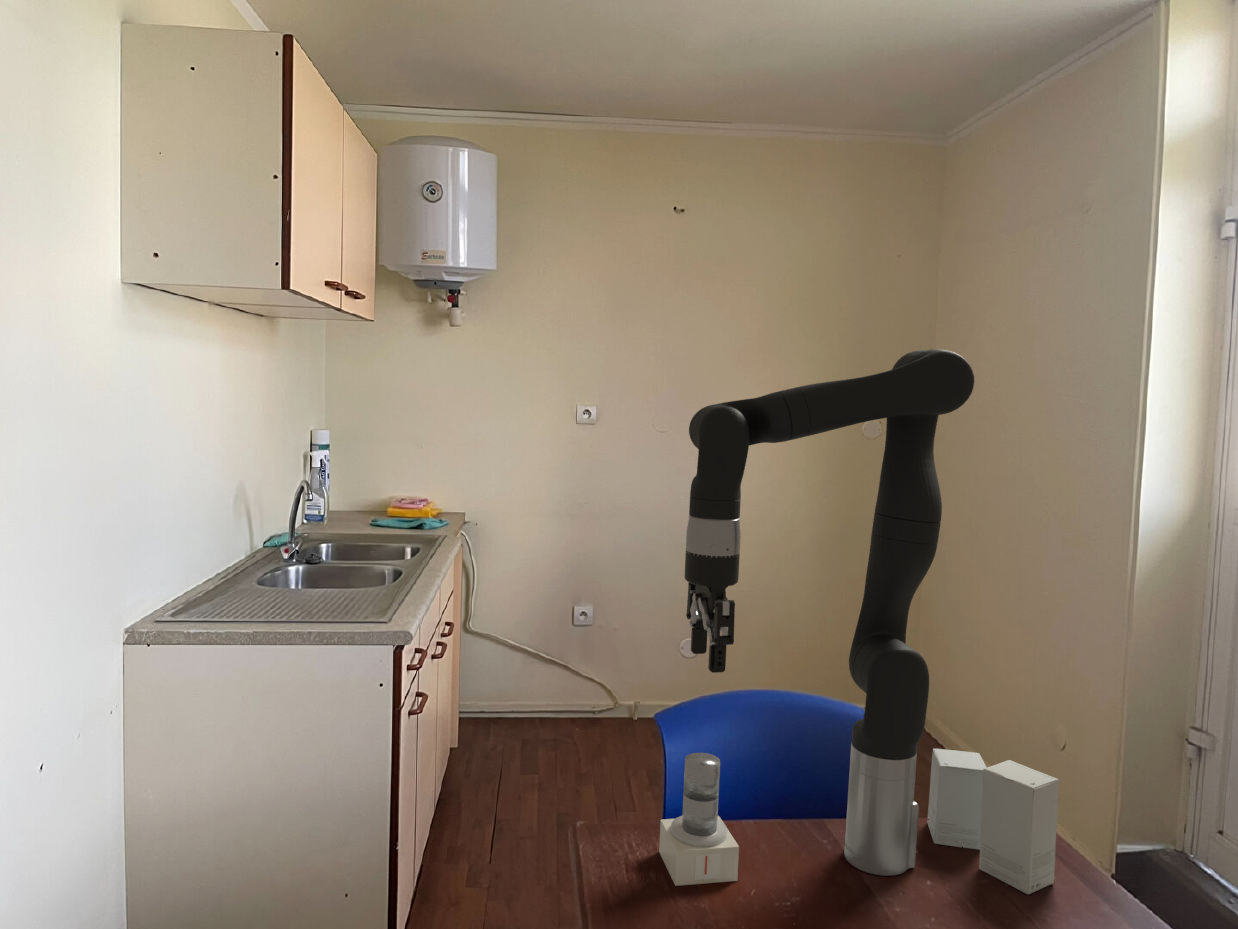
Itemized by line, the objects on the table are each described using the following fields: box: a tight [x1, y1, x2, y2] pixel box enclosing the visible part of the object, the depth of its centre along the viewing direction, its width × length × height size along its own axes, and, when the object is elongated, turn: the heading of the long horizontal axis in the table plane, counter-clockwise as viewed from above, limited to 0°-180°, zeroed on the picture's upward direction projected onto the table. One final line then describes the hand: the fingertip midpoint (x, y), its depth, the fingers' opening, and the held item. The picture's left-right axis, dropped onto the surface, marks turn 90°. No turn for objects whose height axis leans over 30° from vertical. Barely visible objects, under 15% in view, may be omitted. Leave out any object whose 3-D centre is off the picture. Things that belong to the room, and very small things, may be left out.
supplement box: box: [926, 748, 987, 851], centre depth 140 cm, size 7×7×13 cm
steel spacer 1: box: [683, 752, 721, 802], centre depth 127 cm, size 5×5×5 cm
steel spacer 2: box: [681, 793, 719, 836], centre depth 128 cm, size 5×5×5 cm
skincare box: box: [978, 759, 1060, 895], centre depth 128 cm, size 8×7×16 cm
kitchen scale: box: [658, 815, 740, 887], centre depth 128 cm, size 9×9×6 cm
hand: (707, 662), depth 126 cm, fingers open, 8 cm apart
